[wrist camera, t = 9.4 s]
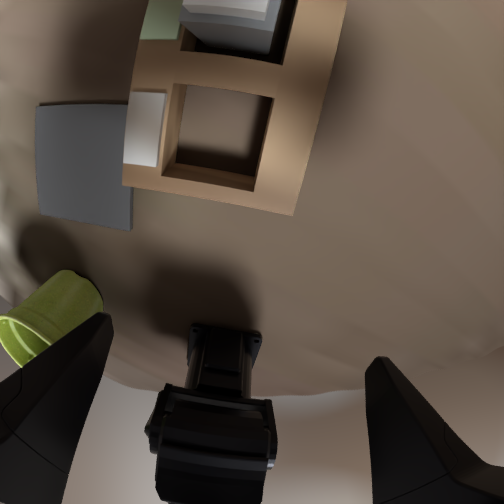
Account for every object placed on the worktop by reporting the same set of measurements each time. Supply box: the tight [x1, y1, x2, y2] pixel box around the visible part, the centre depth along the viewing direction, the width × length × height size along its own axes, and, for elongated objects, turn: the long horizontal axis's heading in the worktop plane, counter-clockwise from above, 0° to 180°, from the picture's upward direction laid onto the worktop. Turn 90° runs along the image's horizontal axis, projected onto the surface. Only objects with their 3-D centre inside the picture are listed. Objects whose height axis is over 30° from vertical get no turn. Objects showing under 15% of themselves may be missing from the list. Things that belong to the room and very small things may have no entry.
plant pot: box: [0, 270, 103, 368], centre depth 20 cm, size 9×9×9 cm
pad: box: [35, 104, 133, 231], centre depth 17 cm, size 9×9×1 cm
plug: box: [178, 0, 282, 56], centre depth 9 cm, size 4×4×8 cm
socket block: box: [122, 0, 347, 216], centre depth 13 cm, size 14×10×3 cm
